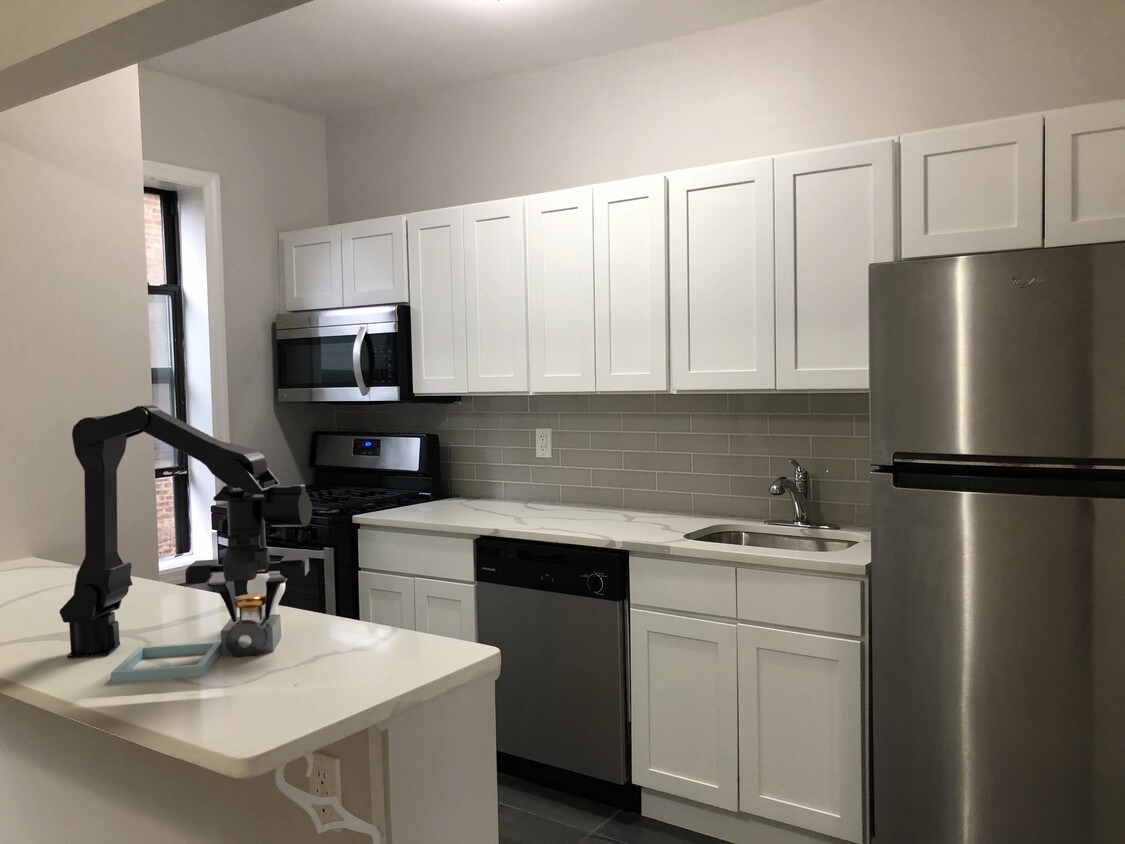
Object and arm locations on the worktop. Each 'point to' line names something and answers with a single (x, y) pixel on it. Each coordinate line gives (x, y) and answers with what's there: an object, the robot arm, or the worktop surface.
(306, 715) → the worktop surface
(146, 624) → the worktop surface
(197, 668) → the tray
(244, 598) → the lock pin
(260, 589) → the light bulb
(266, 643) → the block
